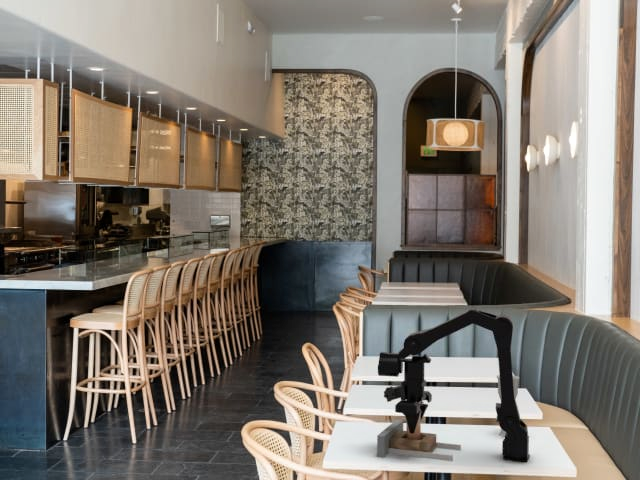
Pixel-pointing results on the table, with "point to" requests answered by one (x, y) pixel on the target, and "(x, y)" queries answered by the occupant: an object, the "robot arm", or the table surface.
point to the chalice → (515, 383)
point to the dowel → (417, 431)
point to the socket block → (414, 442)
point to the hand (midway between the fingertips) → (413, 431)
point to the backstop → (385, 449)
